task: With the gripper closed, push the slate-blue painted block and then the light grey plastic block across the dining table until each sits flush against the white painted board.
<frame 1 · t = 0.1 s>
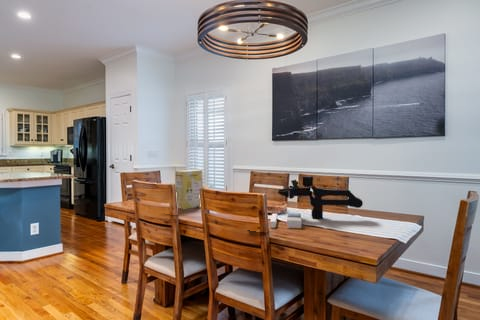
hand: (278, 191, 207), 17 cm above the table, tool horizontal, fingers open, 9 cm apart
slate block: (294, 221, 194), on the table
pasta box: (189, 207, 243), on the table
grey block: (294, 226, 182), on the table
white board: (273, 223, 190), on the table
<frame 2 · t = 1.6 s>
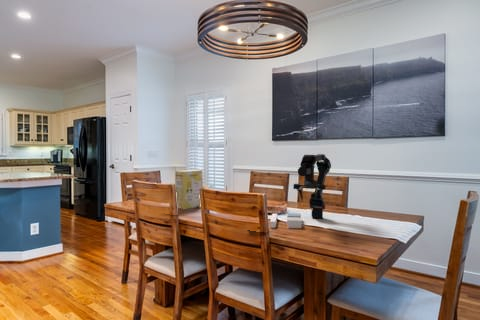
hand: (308, 200, 192), 13 cm above the table, tool pointing down, fingers open, 8 cm apart
nothing on the table moved.
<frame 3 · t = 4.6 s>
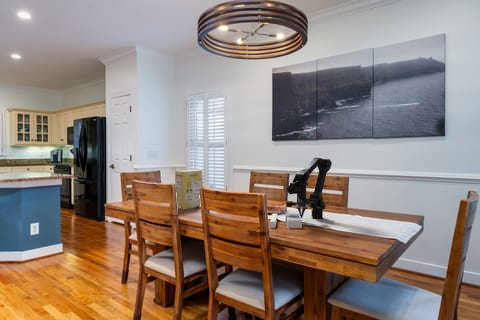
hand: (301, 218, 193), 2 cm above the table, tool pointing down, fingers closed
slate block: (292, 221, 194), on the table, touching gripper
everything else where it was.
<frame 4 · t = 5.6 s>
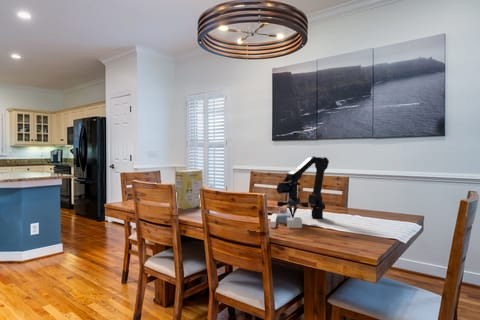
hand: (292, 217, 194), 2 cm above the table, tool pointing down, fingers closed
slate block: (284, 222, 194), on the table, touching gripper
everything else where it was.
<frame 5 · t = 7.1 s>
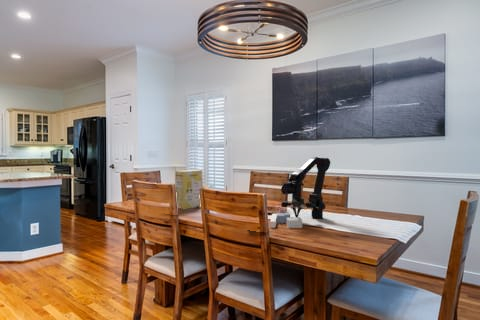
hand: (296, 218, 194), 2 cm above the table, tool pointing down, fingers closed
slate block: (283, 221, 194), on the table
everything else where it was.
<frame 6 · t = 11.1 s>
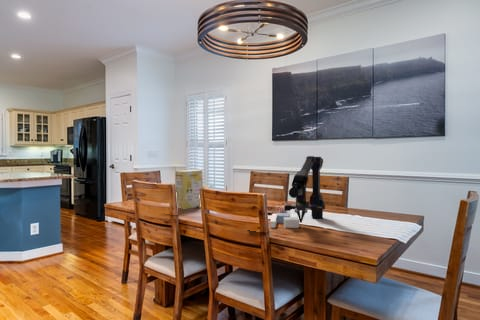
hand: (300, 222, 181), 2 cm above the table, tool pointing down, fingers closed
grey block: (291, 226, 183), on the table, touching gripper
everything else where it was.
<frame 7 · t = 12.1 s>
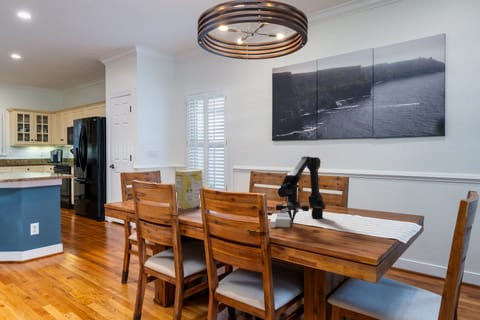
hand: (292, 222, 182), 2 cm above the table, tool pointing down, fingers closed
grey block: (282, 225, 184), on the table, touching gripper, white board
everything else where it was.
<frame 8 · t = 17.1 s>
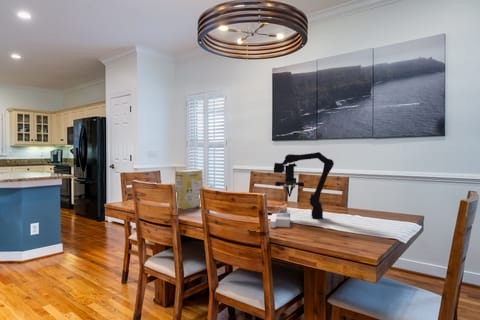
hand: (289, 196, 208), 13 cm above the table, tool pointing down, fingers closed
grey block: (282, 225, 185), on the table
everything else where it was.
at the end: slate block 0.8 cm from the target spot on the table beside the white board, on the table; grey block 1.4 cm from the target spot on the table beside the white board, on the table; slate block tilted 0° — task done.
